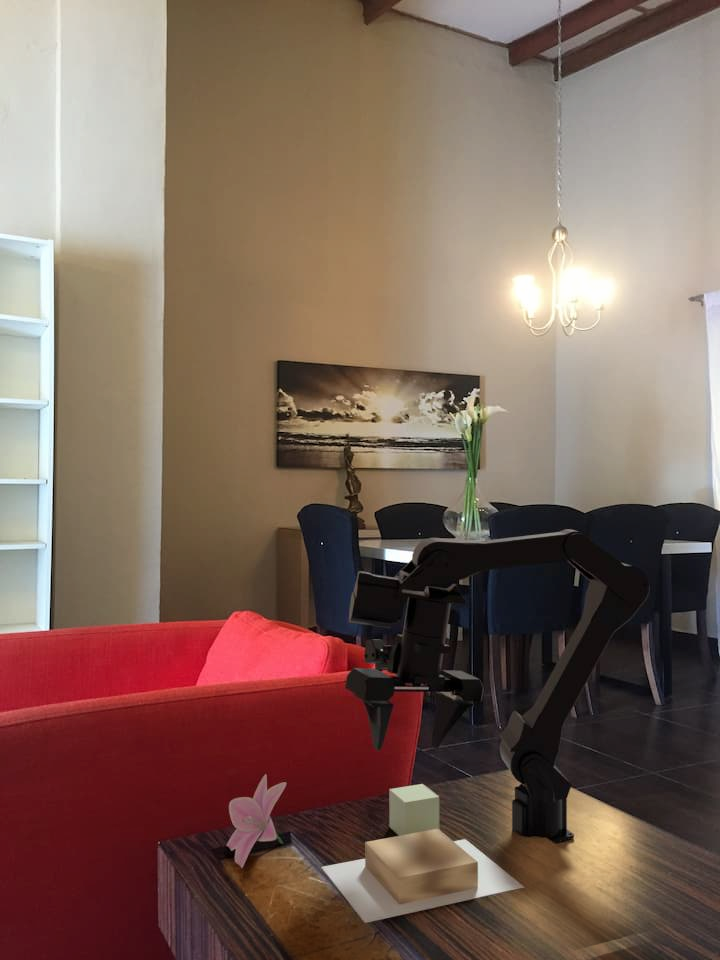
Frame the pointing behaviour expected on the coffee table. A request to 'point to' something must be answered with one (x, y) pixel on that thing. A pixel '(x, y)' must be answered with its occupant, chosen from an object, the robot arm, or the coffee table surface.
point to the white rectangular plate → (380, 904)
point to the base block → (420, 865)
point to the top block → (413, 809)
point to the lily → (253, 819)
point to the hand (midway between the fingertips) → (406, 748)
